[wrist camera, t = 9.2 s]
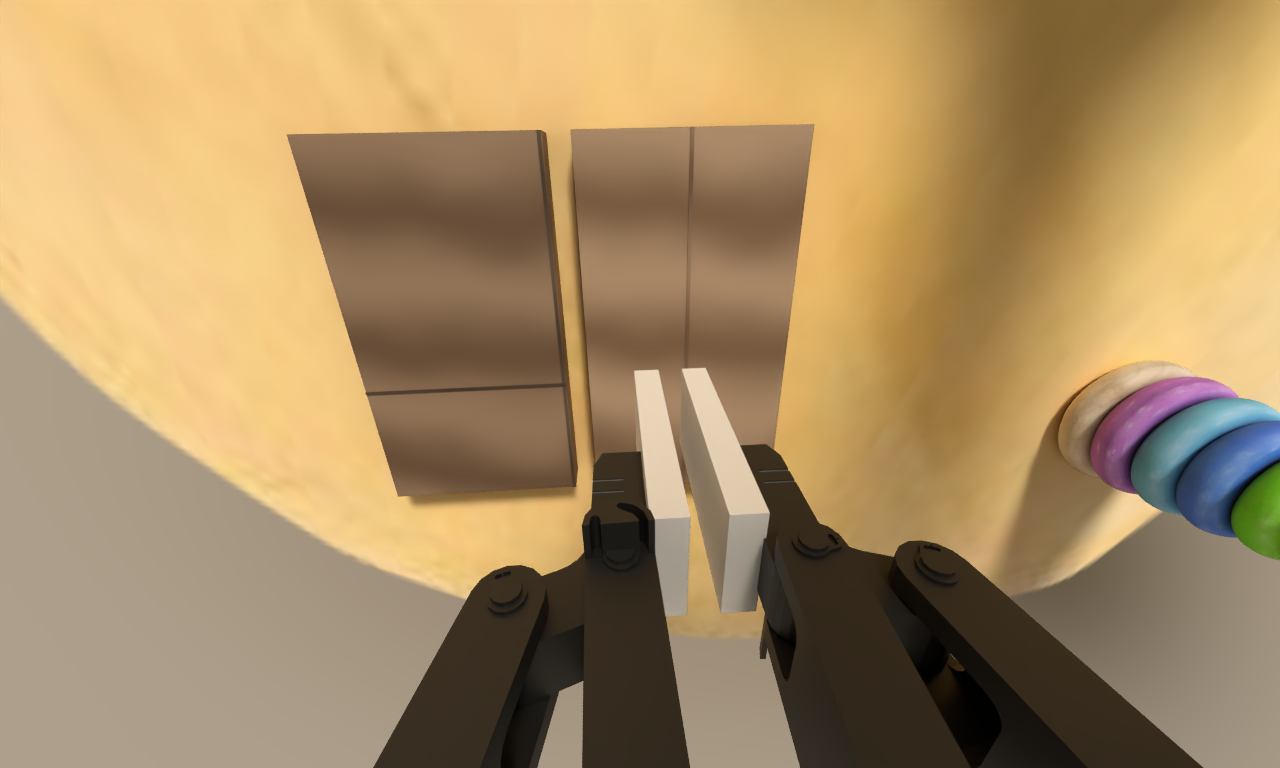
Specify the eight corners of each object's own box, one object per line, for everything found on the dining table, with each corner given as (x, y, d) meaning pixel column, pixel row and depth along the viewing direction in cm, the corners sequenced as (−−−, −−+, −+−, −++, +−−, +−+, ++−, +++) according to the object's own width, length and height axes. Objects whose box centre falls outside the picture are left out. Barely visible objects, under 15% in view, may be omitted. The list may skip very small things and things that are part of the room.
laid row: (312, 137, 20) (286, 134, 18) (546, 133, 20) (540, 130, 19) (410, 477, 27) (397, 497, 26) (577, 467, 28) (575, 486, 26)
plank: (575, 132, 20) (570, 129, 19) (799, 127, 20) (814, 124, 19) (598, 466, 28) (597, 485, 26) (761, 462, 28) (769, 481, 26)
